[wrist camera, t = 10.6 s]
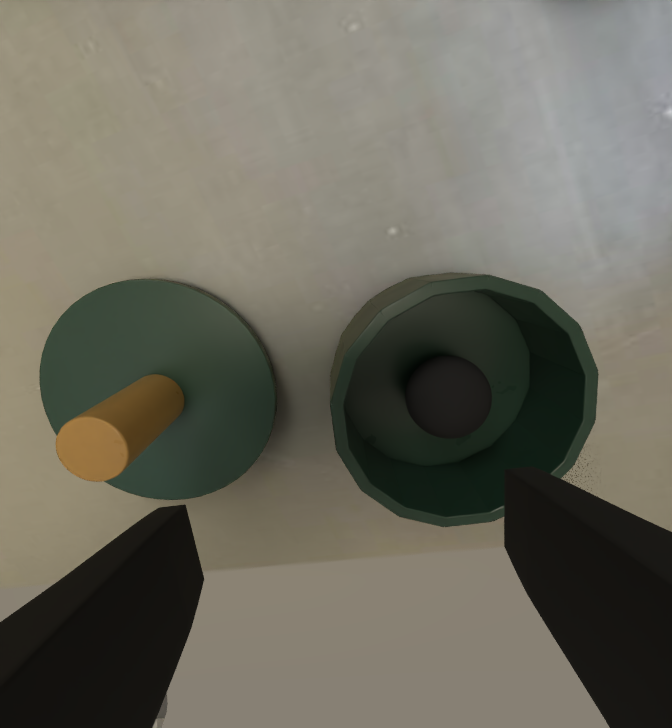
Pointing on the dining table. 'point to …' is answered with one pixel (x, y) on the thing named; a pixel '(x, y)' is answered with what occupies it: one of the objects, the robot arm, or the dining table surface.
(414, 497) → the tin
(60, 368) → the lid
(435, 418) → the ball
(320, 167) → the dining table surface
